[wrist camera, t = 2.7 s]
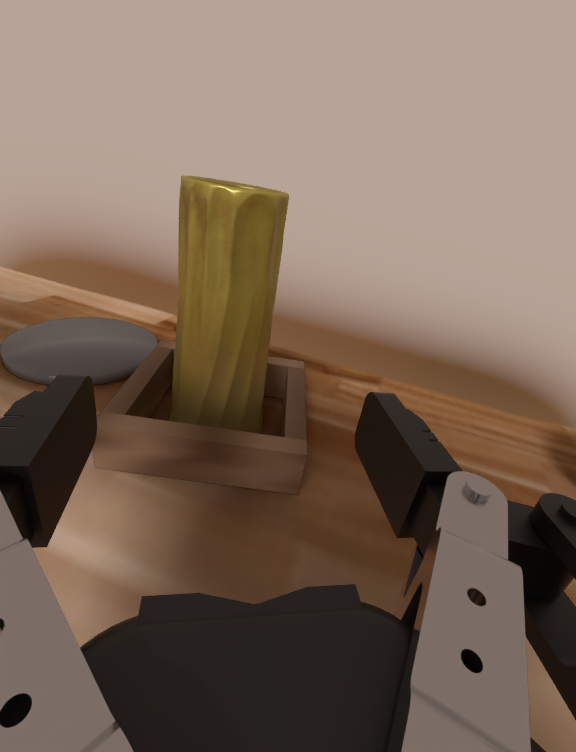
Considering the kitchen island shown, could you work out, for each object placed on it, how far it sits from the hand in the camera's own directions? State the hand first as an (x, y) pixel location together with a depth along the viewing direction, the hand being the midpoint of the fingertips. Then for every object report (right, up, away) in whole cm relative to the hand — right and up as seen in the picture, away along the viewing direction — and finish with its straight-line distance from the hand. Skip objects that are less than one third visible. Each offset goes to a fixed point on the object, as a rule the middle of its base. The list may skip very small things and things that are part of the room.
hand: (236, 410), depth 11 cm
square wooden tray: (-3, -2, +14) cm, 14 cm away
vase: (-3, -2, +14) cm, 14 cm away
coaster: (-15, +3, +19) cm, 24 cm away
